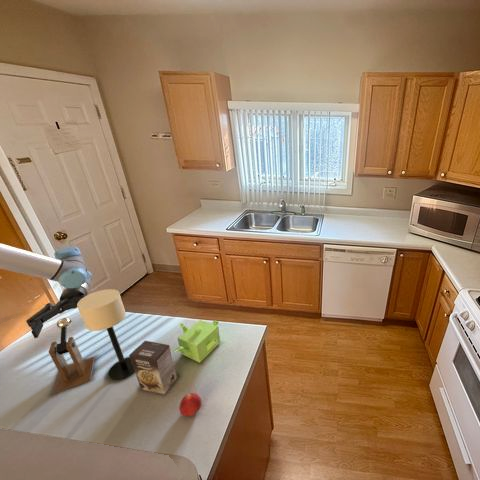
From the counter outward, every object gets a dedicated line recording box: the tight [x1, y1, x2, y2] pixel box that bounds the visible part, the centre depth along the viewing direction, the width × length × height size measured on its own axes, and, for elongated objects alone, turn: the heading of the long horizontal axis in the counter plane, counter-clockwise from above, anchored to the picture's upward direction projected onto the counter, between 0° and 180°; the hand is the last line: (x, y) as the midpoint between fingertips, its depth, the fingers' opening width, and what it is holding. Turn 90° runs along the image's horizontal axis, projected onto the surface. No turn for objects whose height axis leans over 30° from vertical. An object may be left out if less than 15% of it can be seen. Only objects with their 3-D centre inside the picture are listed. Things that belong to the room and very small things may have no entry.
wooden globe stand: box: [48, 336, 96, 395], centre depth 84 cm, size 11×9×15 cm
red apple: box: [179, 392, 202, 417], centre depth 76 cm, size 6×6×8 cm
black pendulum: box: [56, 317, 73, 355], centre depth 84 cm, size 12×4×4 cm, turn 33°
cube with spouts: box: [174, 319, 221, 363], centre depth 97 cm, size 15×14×11 cm
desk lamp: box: [77, 288, 135, 381], centre depth 83 cm, size 10×10×31 cm
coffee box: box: [128, 340, 178, 395], centre depth 82 cm, size 9×6×16 cm
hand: (63, 327), depth 85 cm, fingers open, 13 cm apart
